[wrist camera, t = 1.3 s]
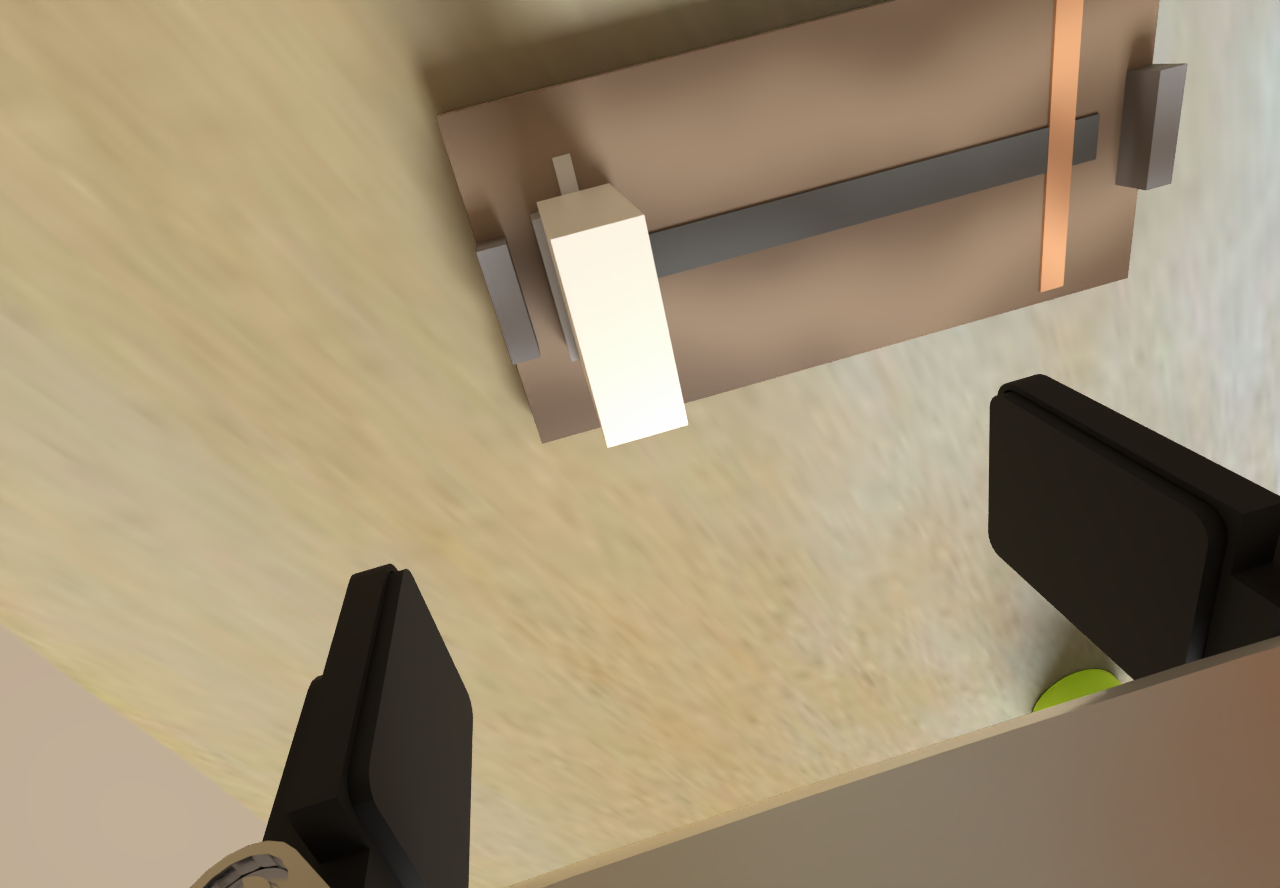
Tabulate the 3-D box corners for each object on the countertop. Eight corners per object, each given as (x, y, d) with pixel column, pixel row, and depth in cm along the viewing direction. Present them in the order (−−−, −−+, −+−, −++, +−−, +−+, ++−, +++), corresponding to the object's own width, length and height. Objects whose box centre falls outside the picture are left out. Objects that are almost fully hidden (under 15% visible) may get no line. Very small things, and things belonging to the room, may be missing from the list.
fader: (525, 198, 24) (538, 242, 18) (612, 176, 24) (655, 211, 18) (572, 362, 27) (597, 450, 21) (649, 341, 27) (698, 422, 21)
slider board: (439, 113, 24) (432, 119, 21) (1121, -59, 26) (1206, -77, 23) (539, 422, 30) (544, 461, 27) (1092, 266, 32) (1157, 286, 28)
